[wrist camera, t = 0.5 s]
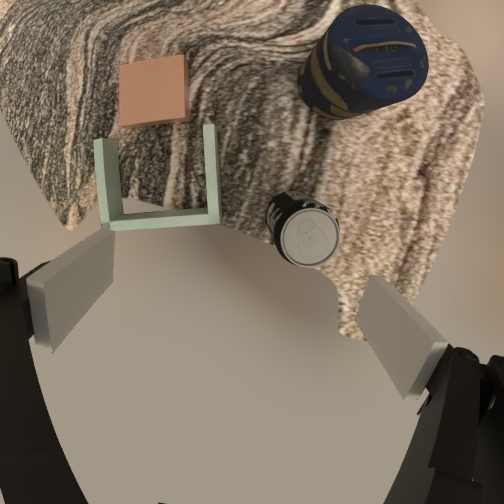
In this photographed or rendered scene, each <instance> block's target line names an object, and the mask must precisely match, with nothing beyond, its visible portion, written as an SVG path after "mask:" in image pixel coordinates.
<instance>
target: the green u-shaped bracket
mask: <svg viewBox="0 0 504 504" xmlns="http://www.w3.org/2000/svg"><path fill="white" fill-rule="evenodd" d="M203 136H204V155H205V172H206V188H207V203H208V208H194V209H181V210H168V211H155V212H144V213H134V214H124V213H123V203H122V194H121V183H120V171H119V157H118V140H114V139H105V138H101V139H96V140H93V141H94V159H95V172H96V184H97V194H98V203H99V211H100V219H101V226H102V229H106V230H112V231H126V230H138V229H151V228H165V227H180V226H194V225H209V224H210V225H211V224H220V221H221V218H222V207H221V191H220V174H219V155H218V135H217V127H216V126H215V125H214V124H206V125H203Z"/></svg>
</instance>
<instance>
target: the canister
mask: <svg viewBox="0 0 504 504" xmlns="http://www.w3.org/2000/svg"><path fill="white" fill-rule="evenodd" d="M428 68H429V63H428V55H427V51H426V48H425V45H424V43H423V41H422V39H421V37H420V36H419V34H418V33H417V31H416V30H415V29H414V27H413V26H412V25H411V24H410V23H409V22H408V21H407V20H405V19H404V18H403V17H401V16H400V15H399V14H397V13H395V12H393V11H392V10H389V9H387V8H384V7H382V6H377V5H358V6H354V7H351V8H348V9H347V10H345V11H343V12H342V13H341V14H339V15H338V16H337V17H336V19H335V20H334V21H333V23H332V24H331V25H330V27H329V28H328V29H327V31H326V32H325V34H324V35H323V37H322V38H321V40H320V41H319V42H318V43H317V44H316V46H315V47H314V48H313V50H312V52H311V53H310V55H309V56H308V58H307V59H306V61H305V62H304V64H303V65H302V67H301V70H300V73H299V78H298V83H299V90H300V93H301V95H302V97H303V99H304V101H305V102H306V104H307V105H308V106H309V107H310V108H311V109H312V110H313V111H315V112H316V113H318V114H320V115H321V116H323V117H326V118H329V119H334V120H344V119H349V118H352V117H355V116H359V115H362V114H368V113H370V112H372V111H374V110H377V109H380V108H382V107H386V106H389V105H392V104H395V103H398V102H401V101H404V100H406V99H408V98H410V97H412V96H413V95H415V94H416V93H417V92H418V91H419V90H420V89H421V87H422V86H423V85H424V83H425V81H426V78H427V74H428Z"/></svg>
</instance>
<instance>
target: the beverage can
mask: <svg viewBox="0 0 504 504" xmlns="http://www.w3.org/2000/svg"><path fill="white" fill-rule="evenodd" d="M266 222H267V225H268V228H269V230H270V233H271V235H272V238H273V240H274V242H275V245H276V247H277V250H278V251H279V253H280V254H281V256H282V257H283V258H284V259H286V260H287V261H288V262H290V263H292V264H294V265H297V266H301V267H305V268H313V267H318V266H320V265H323V264H324V263H326V262H328V261H329V260H330V259H331V258H332V257H333V256H334V254H335V253H336V251H337V249H338V247H339V243H340V229H339V224H338V221H337V218H336V217H335V215H334V214H333V212H332V211H331V210H330V209H329V208H328V207H326V206H325V205H323V204H321V203H319V202H318V201H316V200H314V199H312V198H311V197H309V196H307V195H305V194H303V193H301V192H298V191H287V192H283V193H281V194H279V195H278V196H276V197H275V198H274V199H273V200H272V201H271V203H270V204H269V206H268V209H267V212H266Z"/></svg>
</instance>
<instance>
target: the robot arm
mask: <svg viewBox="0 0 504 504" xmlns="http://www.w3.org/2000/svg"><path fill="white" fill-rule="evenodd" d="M114 241H115V231H112V230H106V229H100V230H99V231H97V232H96V233H94V234H92V235H91V236H89V237H87V238H86V239H84V240H83V241H81V242H80V243H78V244H77V245H75V246H73V247H72V248H70V249H69V250H67V251H65V252H64V253H63V254H61V255H60V256H58V257H56V258H55V259H53V260H52V261H48V262H45V263H42V264H40V265H39V266H37V267H36V268H34V269H33V270H31V271H30V272H29V273H27V274H25V275H24V276H22V277H21V278H20V279H19V275H18V263H17V261H16V260H14V259H12V258H7V257H1V258H0V489H1V492H2V495H3V498H4V502H5V504H88V502H87V500H86V498H85V496H84V494H83V493H82V491H81V489H80V487H79V485H78V483H77V481H76V479H75V477H74V474H73V473H72V470H71V468H70V466H69V464H68V461H67V459H66V457H65V455H64V452H63V450H62V447H61V445H60V443H59V441H58V438H57V435H56V433H55V430H54V427H53V425H52V422H51V419H50V416H49V413H48V410H47V407H46V405H45V401H44V398H43V395H42V392H41V388H40V385H39V381H38V378H37V374H36V370H35V367H34V362H33V358H32V354H31V349H30V345H29V339H30V338H31V337H32V335H33V334H34V338H35V344H36V348H39V349H41V350H44V351H47V352H50V353H54V351H55V350H56V349H57V348H58V346H59V345H60V344H61V343H62V341H63V340H64V339H65V338H66V336H67V335H68V334H69V332H70V331H71V330H72V329H73V328H74V327H75V325H76V324H77V323H78V322H79V321H80V319H81V318H82V317H83V316H84V315H85V313H86V312H87V311H88V310H89V309H90V307H91V306H92V305H93V304H94V303H95V302H96V300H97V299H98V298H99V297H100V296H101V295H102V294H103V293H104V291H105V290H106V289H107V288H108V287H109V286H110V285H111V283H112V282H113V262H114ZM355 322H356V323H357V325H358V326H359V328H360V330H361V331H362V333H363V334H364V336H365V337H366V339H367V341H368V342H369V344H370V345H371V347H372V349H373V350H374V352H375V353H376V355H377V357H378V358H379V360H380V361H381V363H382V365H383V366H384V368H385V370H386V371H387V373H388V374H389V376H390V378H391V379H392V381H393V383H394V384H395V386H396V388H397V389H398V391H399V393H400V394H401V396H402V398H403V400H414V399H419V397H420V396H421V394H422V392H423V391H424V389H425V387H426V389H427V390H428V391H429V395H428V396H427V398H426V400H425V401H424V403H423V405H422V406H421V408H420V410H419V411H418V413H417V415H419V414H420V413H421V414H420V418H419V420H418V423H417V427H416V429H415V432H414V435H413V437H412V440H411V443H410V445H409V448H408V450H407V453H406V455H405V458H404V460H403V462H402V465H401V467H400V470H399V472H398V474H397V476H396V479H395V481H394V483H393V485H392V487H391V489H390V491H389V493H388V495H387V498H386V499H385V502H384V503H383V504H504V357H503V356H498V355H493V356H492V357H491V358H490V360H489V362H488V364H487V365H485V364H480V363H479V359H478V357H477V356H476V355H475V354H474V353H472V352H471V351H470V350H468V349H465V348H461V347H456V348H453V347H452V346H451V345H450V344H449V342H448V341H447V340H446V339H445V338H444V337H443V336H442V335H441V334H440V333H439V332H438V331H437V330H436V329H435V328H434V327H433V326H432V325H431V324H430V323H429V322H428V321H427V320H426V319H425V318H424V317H423V316H422V315H421V314H420V313H419V312H418V311H417V310H416V309H415V308H414V307H413V306H412V305H411V304H410V303H409V302H408V301H407V300H406V299H405V298H404V297H403V296H402V295H401V294H400V293H399V292H398V291H397V290H396V289H395V288H394V287H393V286H392V285H391V284H390V283H389V282H387V281H386V280H385V279H384V278H383V277H382V276H377V275H371V274H370V276H369V279H368V282H367V285H366V288H365V291H364V294H363V297H362V300H361V303H360V306H359V309H358V312H357V315H356V317H355ZM493 403H494V404H493ZM492 405H493V406H492ZM491 406H492V407H491ZM472 479H473V481H472ZM158 504H164V503H158Z"/></svg>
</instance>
